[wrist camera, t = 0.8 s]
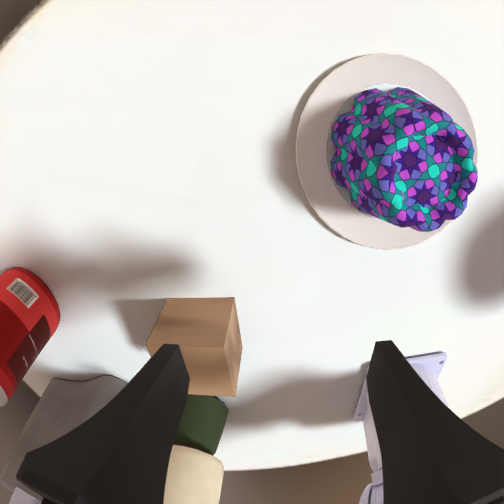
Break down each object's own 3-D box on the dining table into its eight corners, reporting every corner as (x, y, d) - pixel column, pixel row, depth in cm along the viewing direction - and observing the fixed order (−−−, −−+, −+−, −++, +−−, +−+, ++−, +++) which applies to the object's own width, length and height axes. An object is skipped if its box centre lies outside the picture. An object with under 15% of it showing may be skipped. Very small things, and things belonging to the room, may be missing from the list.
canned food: (-3, 263, 22) (-71, 328, 13) (45, 266, 22) (-33, 349, 12) (23, 322, 26) (-28, 391, 16) (73, 333, 25) (19, 418, 16)
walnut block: (242, 346, 24) (235, 396, 19) (183, 345, 24) (167, 392, 20) (234, 296, 21) (223, 347, 17) (168, 297, 22) (145, 344, 17)
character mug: (143, 370, 26) (98, 487, 15) (210, 366, 25) (179, 505, 14) (190, 427, 31) (167, 523, 20) (247, 426, 30) (235, 532, 18)
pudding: (425, 30, 12) (471, 15, 7) (488, 197, 16) (532, 227, 12) (253, 111, 16) (243, 114, 11) (348, 273, 20) (365, 324, 15)
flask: (73, 404, 33) (23, 516, 16) (46, 377, 31) (-15, 492, 13) (151, 405, 30) (102, 561, 12) (119, 372, 27) (50, 542, 10)
